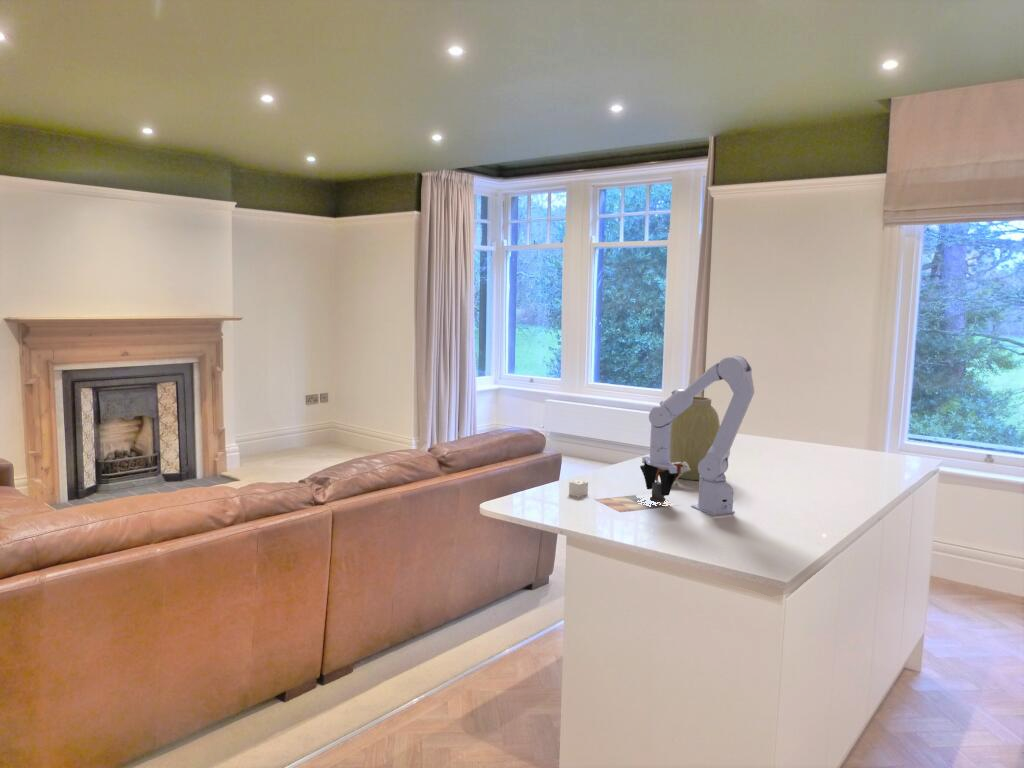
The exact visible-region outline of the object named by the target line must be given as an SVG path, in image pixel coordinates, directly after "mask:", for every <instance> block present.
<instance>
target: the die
mask: <svg viewBox="0 0 1024 768" xmlns="http://www.w3.org/2000/svg"><path fill="white" fill-rule="evenodd" d="M568 483H569V484H568V495H569V496H572V495H573V497H576V496H577V498H581V497H583V496H586V495H588V493H589V482H588V481H584V480H579V479H577V480H571V481H569V482H568Z"/></svg>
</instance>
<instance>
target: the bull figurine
mask: <svg viewBox="0 0 1024 768" xmlns="http://www.w3.org/2000/svg"><path fill="white" fill-rule="evenodd" d="M672 464H673V465H675V466H677V473H678V476H677V477H676V479H675V480H674V482H673V486H672V487H675V486H676V485H679V483H678V479H680V478H679V477H680V476H681V475H682V474H683V473H685V472H687V471H688V472H689V471H691V469H690V468H689V465H688V464H687V463H686V462H685V461H684V462H683V463H681V462H676V463H672ZM663 471H664V472H665V470H663V469H660V468H658V471H657V474H656V478H655V482H660V481H659V477H660V476H659V473H658V472H663Z"/></svg>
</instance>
